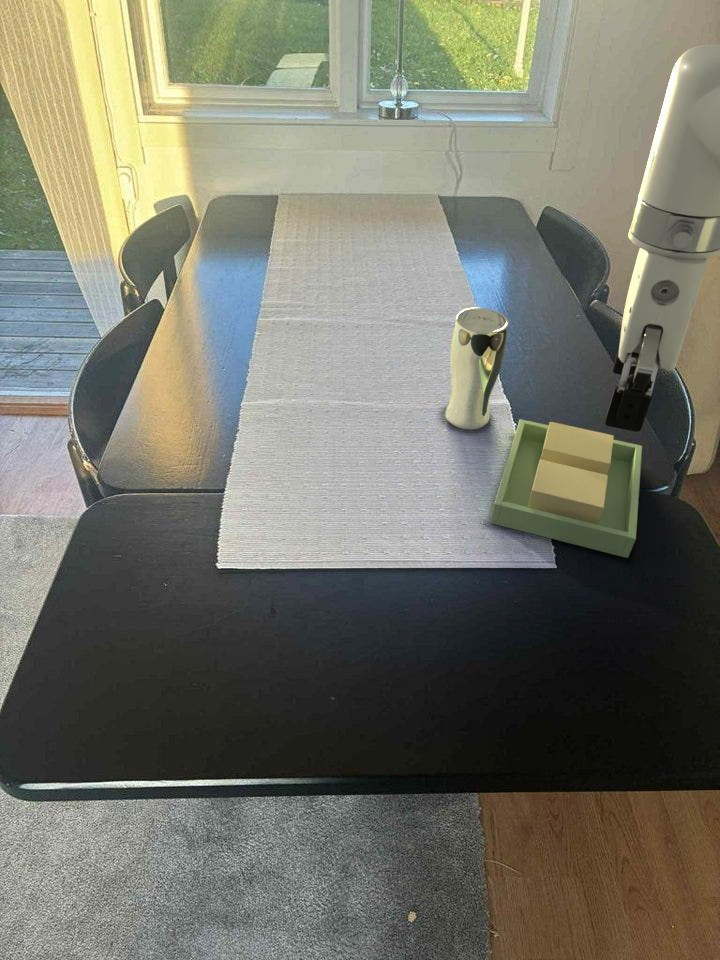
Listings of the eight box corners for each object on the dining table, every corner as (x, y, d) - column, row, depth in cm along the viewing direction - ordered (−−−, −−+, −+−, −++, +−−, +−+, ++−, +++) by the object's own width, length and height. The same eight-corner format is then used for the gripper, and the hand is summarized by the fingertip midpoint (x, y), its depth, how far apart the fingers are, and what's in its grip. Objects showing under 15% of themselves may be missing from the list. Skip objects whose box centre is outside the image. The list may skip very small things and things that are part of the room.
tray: (635, 464, 91) (642, 445, 89) (627, 558, 78) (636, 539, 76) (515, 437, 94) (519, 418, 92) (490, 523, 82) (494, 503, 80)
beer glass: (502, 417, 98) (521, 320, 88) (472, 438, 94) (488, 339, 84) (462, 396, 101) (476, 301, 91) (431, 416, 97) (443, 319, 88)
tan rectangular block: (599, 500, 84) (608, 475, 82) (595, 533, 80) (604, 507, 77) (533, 484, 86) (539, 459, 84) (525, 515, 82) (531, 490, 79)
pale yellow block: (605, 459, 90) (614, 435, 88) (601, 488, 86) (610, 463, 83) (543, 445, 92) (549, 421, 90) (536, 473, 88) (543, 448, 85)
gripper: (735, 272, 50) (663, 460, 61) (725, 197, 62) (667, 363, 73) (626, 256, 52) (576, 441, 63) (637, 186, 64) (594, 350, 75)
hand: (625, 399), depth 68 cm, fingers open, 9 cm apart
